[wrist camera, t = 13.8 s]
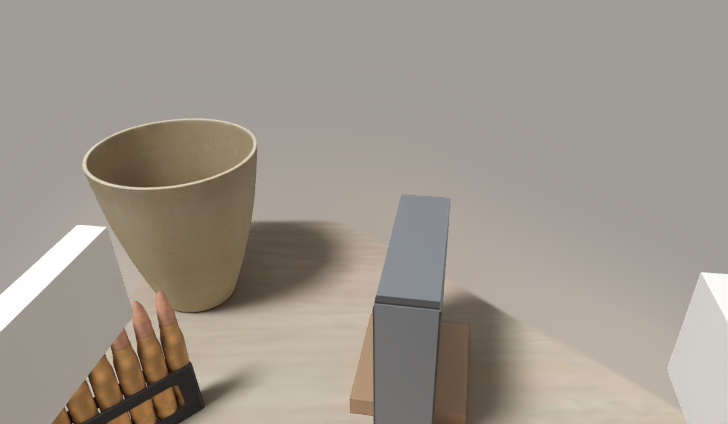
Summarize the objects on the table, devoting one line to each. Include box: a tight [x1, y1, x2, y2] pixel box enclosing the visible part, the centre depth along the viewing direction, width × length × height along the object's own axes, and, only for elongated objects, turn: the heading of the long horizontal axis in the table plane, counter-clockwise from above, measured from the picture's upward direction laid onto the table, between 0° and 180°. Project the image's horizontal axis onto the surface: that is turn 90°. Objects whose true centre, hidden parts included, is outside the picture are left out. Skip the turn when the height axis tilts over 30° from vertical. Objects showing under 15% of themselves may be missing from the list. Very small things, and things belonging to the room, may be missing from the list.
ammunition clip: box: [52, 290, 205, 424], centre depth 41 cm, size 11×2×12 cm, turn 132°
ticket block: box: [350, 194, 469, 424], centre depth 45 cm, size 14×9×14 cm, turn 170°
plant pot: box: [82, 119, 257, 312], centre depth 55 cm, size 15×15×16 cm
